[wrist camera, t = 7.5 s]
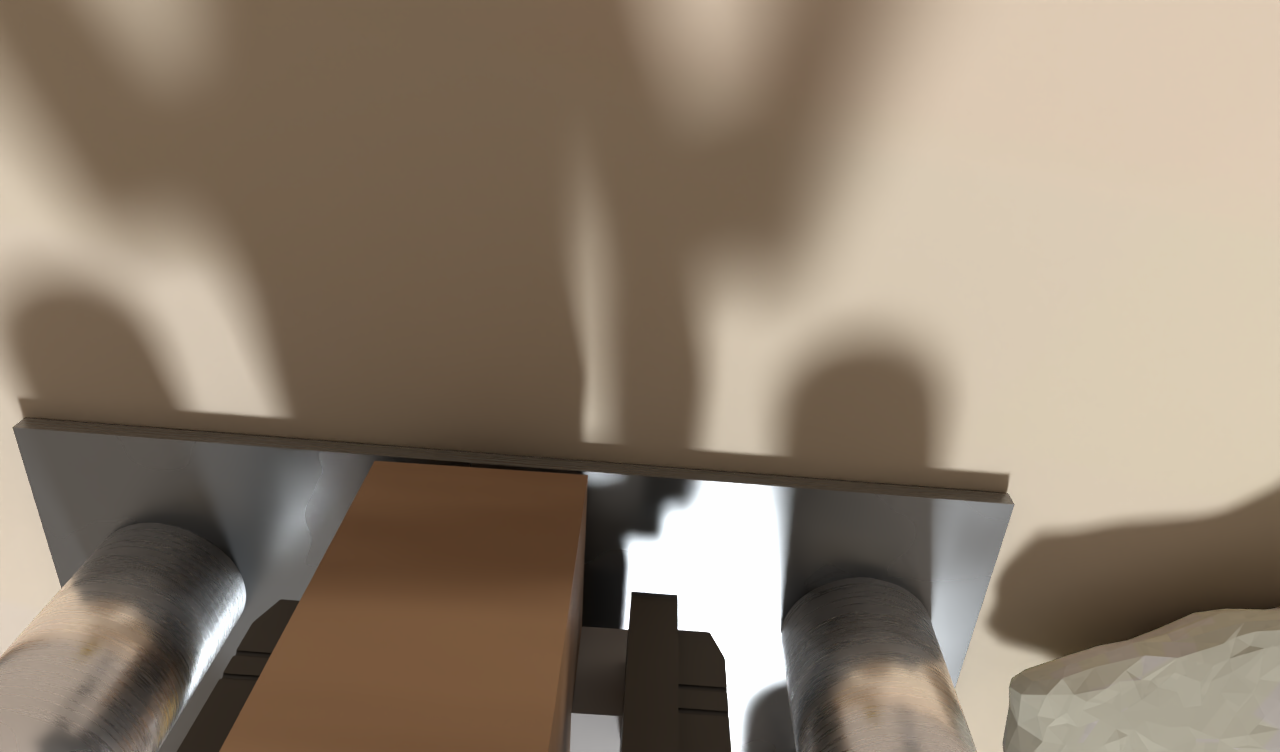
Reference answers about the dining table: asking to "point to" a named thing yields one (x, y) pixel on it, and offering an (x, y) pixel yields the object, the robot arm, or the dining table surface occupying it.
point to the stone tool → (1158, 691)
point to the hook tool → (445, 625)
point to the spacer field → (614, 566)
